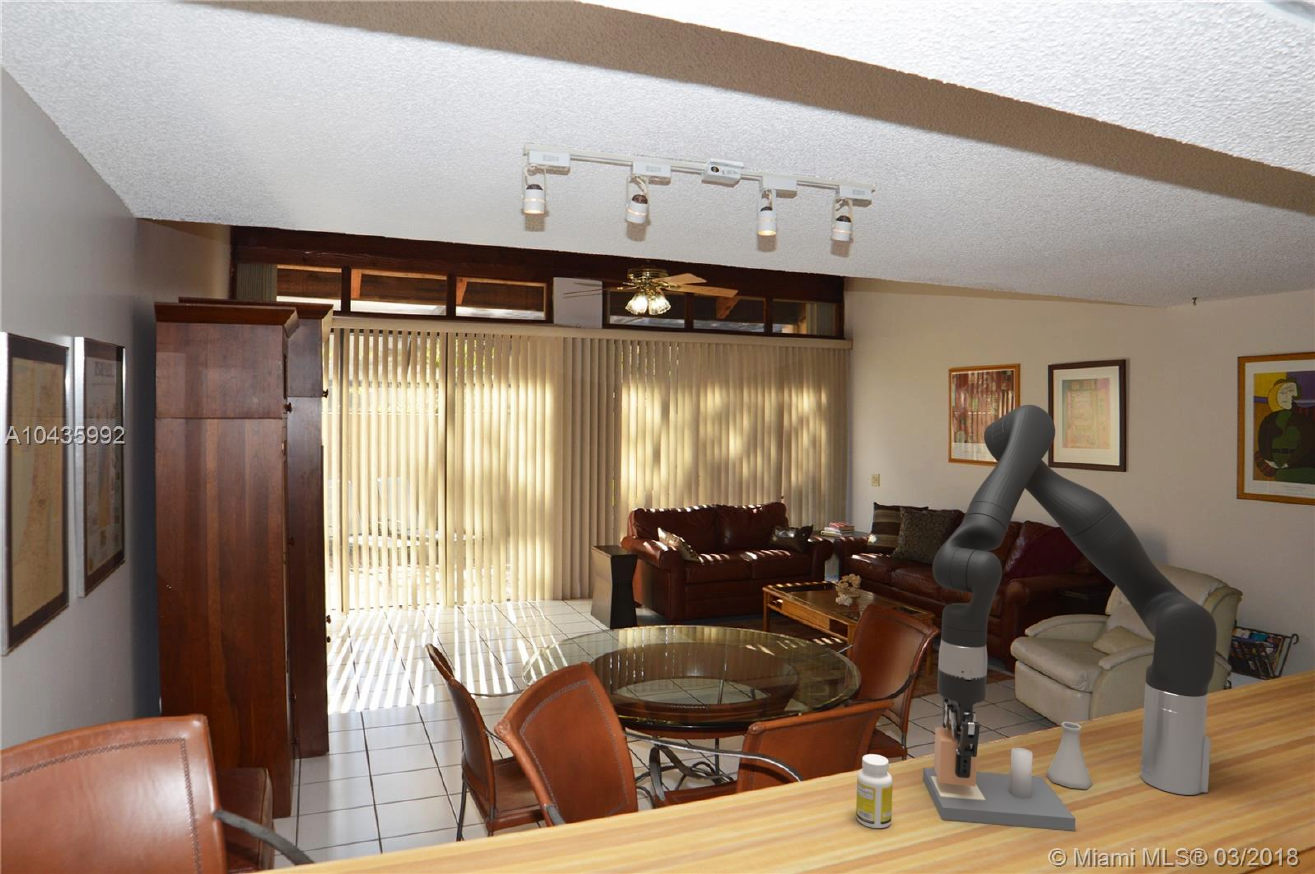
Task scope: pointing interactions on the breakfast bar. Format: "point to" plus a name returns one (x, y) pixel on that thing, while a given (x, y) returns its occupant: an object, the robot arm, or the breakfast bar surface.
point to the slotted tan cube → (950, 759)
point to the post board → (1002, 798)
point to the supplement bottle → (874, 792)
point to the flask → (1069, 760)
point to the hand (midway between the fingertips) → (957, 767)
